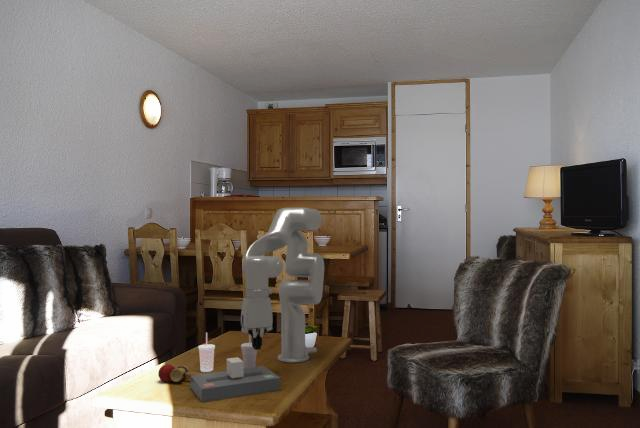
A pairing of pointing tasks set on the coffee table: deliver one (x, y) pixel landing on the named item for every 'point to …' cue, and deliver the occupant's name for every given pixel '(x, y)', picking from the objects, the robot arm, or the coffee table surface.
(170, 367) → the kendama
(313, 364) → the coffee table surface
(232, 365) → the breaker knob
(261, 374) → the switch panel
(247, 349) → the smoothie
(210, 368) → the beverage cup
